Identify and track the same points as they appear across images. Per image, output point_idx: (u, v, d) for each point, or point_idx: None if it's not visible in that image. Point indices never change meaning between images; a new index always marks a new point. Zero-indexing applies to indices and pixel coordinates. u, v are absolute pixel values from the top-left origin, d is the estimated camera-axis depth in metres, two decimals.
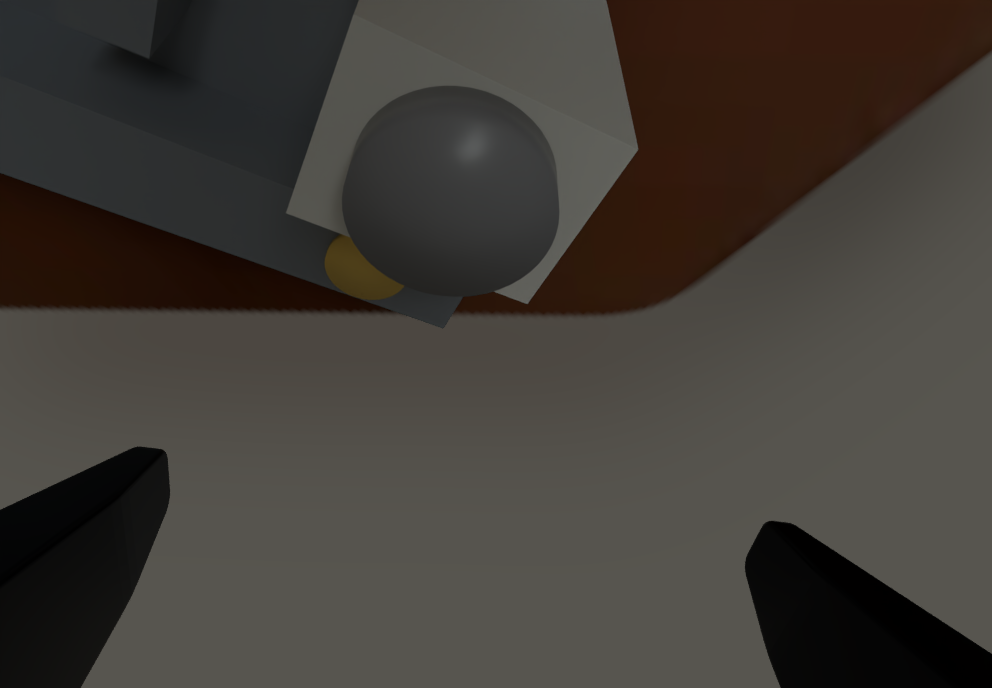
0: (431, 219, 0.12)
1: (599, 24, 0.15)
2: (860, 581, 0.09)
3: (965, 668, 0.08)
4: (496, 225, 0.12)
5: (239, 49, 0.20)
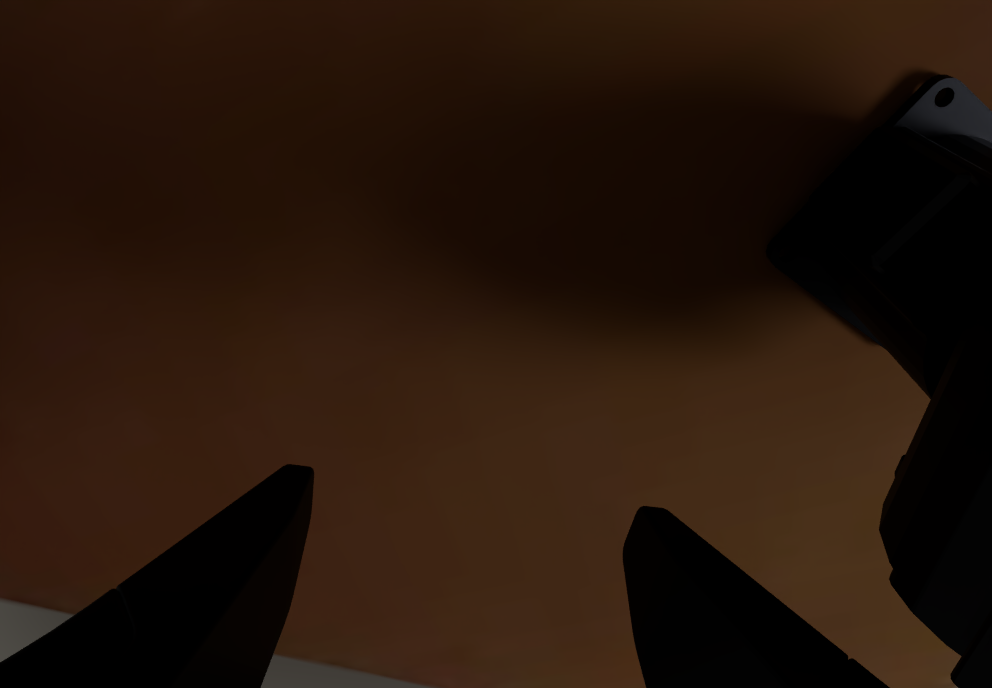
0: None
1: None
2: (713, 565, 0.09)
3: (789, 651, 0.08)
4: None
5: None
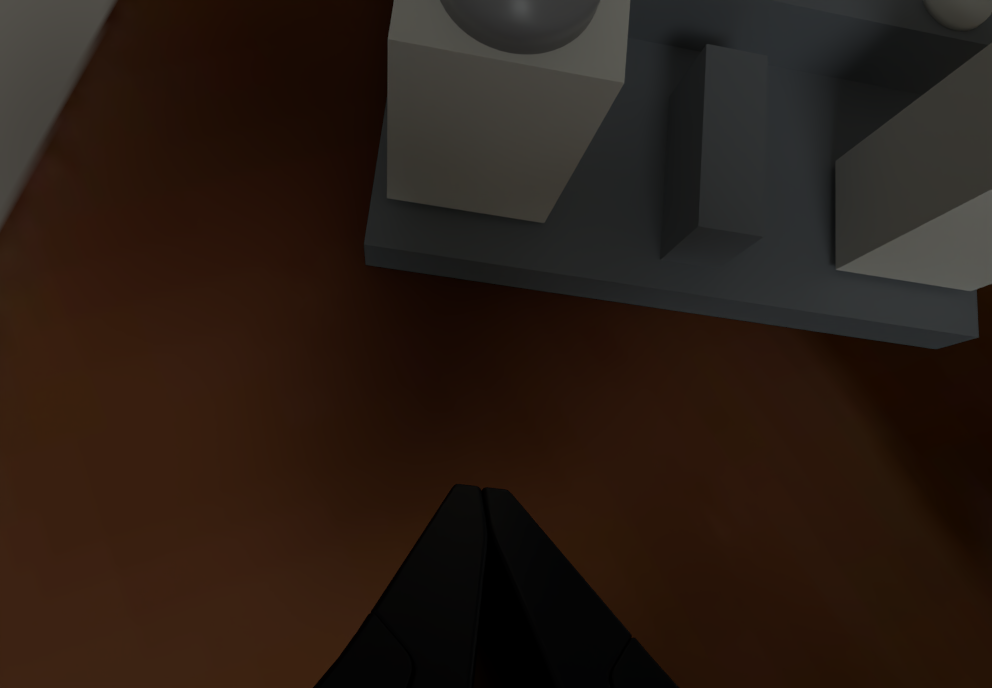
0: None
1: (399, 149, 0.19)
2: (529, 545, 0.09)
3: (567, 630, 0.07)
4: None
5: (631, 74, 0.25)
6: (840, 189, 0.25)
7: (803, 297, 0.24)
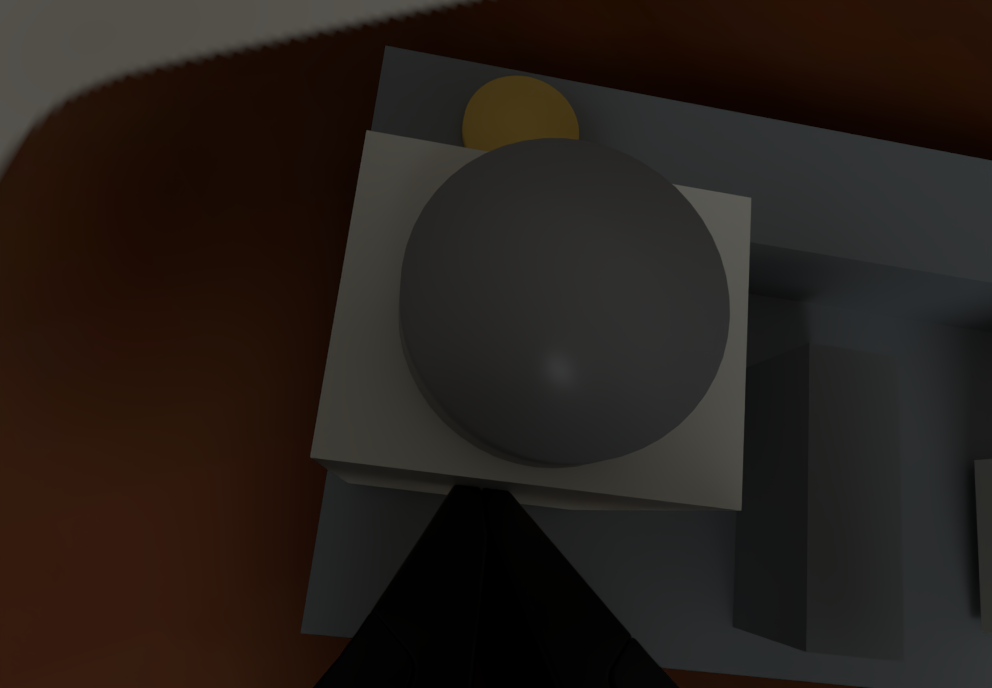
0: (595, 278, 0.08)
1: (357, 478, 0.12)
2: (529, 545, 0.09)
3: (567, 630, 0.07)
4: (499, 298, 0.08)
5: None
6: (985, 509, 0.17)
7: (936, 672, 0.17)
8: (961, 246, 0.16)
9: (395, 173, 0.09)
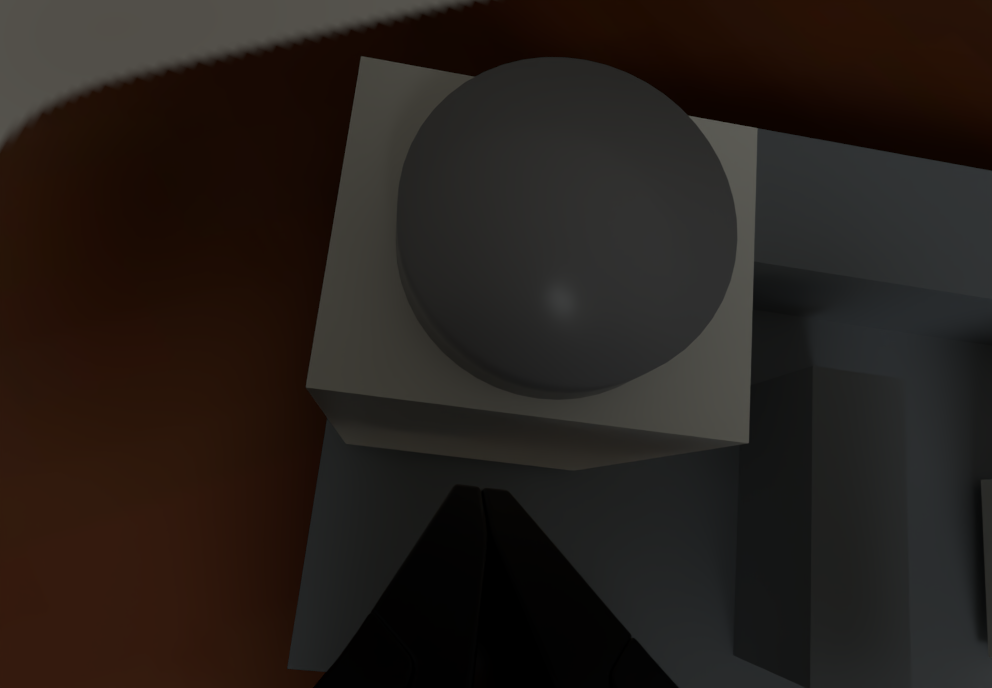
0: (599, 200, 0.08)
1: (355, 430, 0.12)
2: (529, 545, 0.09)
3: (567, 630, 0.07)
4: (499, 218, 0.07)
5: None
6: None
7: None
8: (969, 262, 0.16)
9: (391, 100, 0.09)
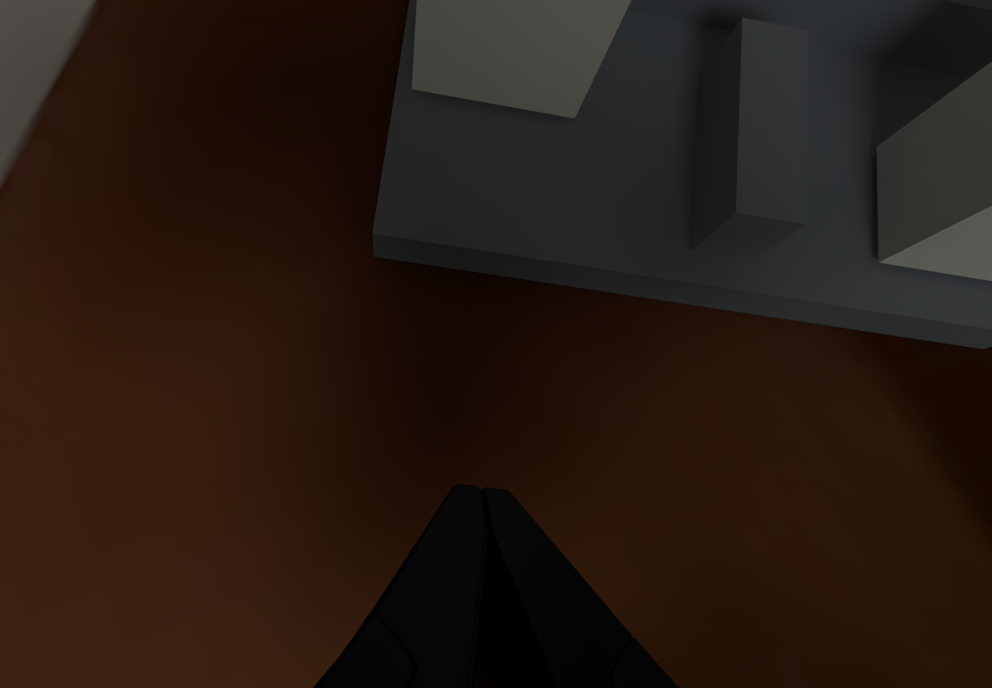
0: None
1: (429, 18, 0.18)
2: (529, 545, 0.09)
3: (567, 630, 0.07)
4: None
5: (657, 54, 0.23)
6: (882, 176, 0.23)
7: (844, 292, 0.23)
8: None
9: None
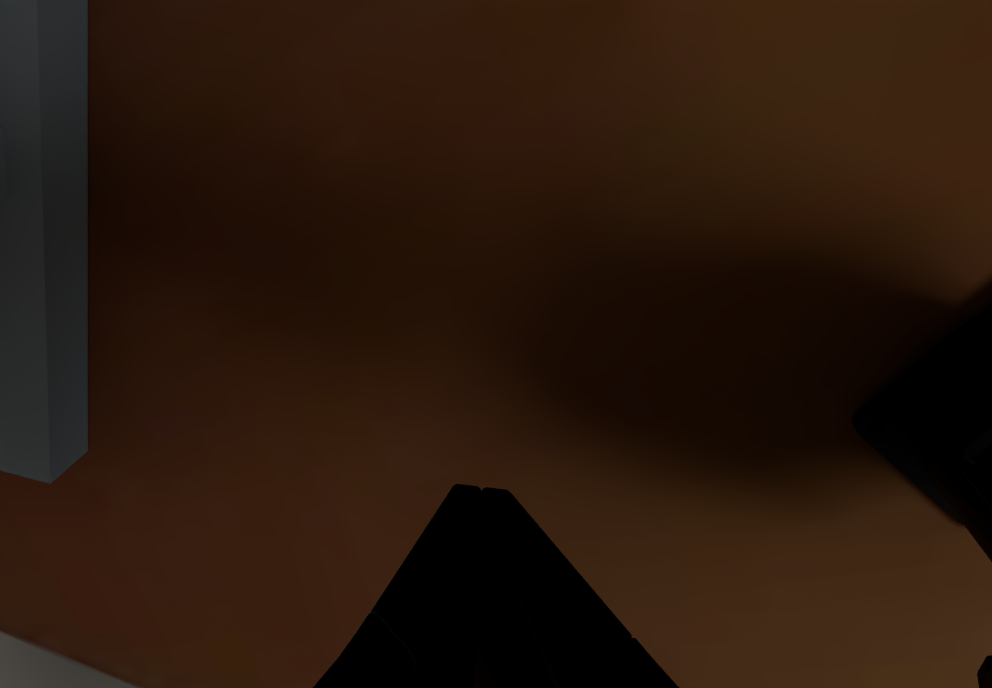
0: None
1: None
2: (529, 545, 0.09)
3: (566, 630, 0.07)
4: None
5: None
6: None
7: (18, 7, 0.18)
8: None
9: None
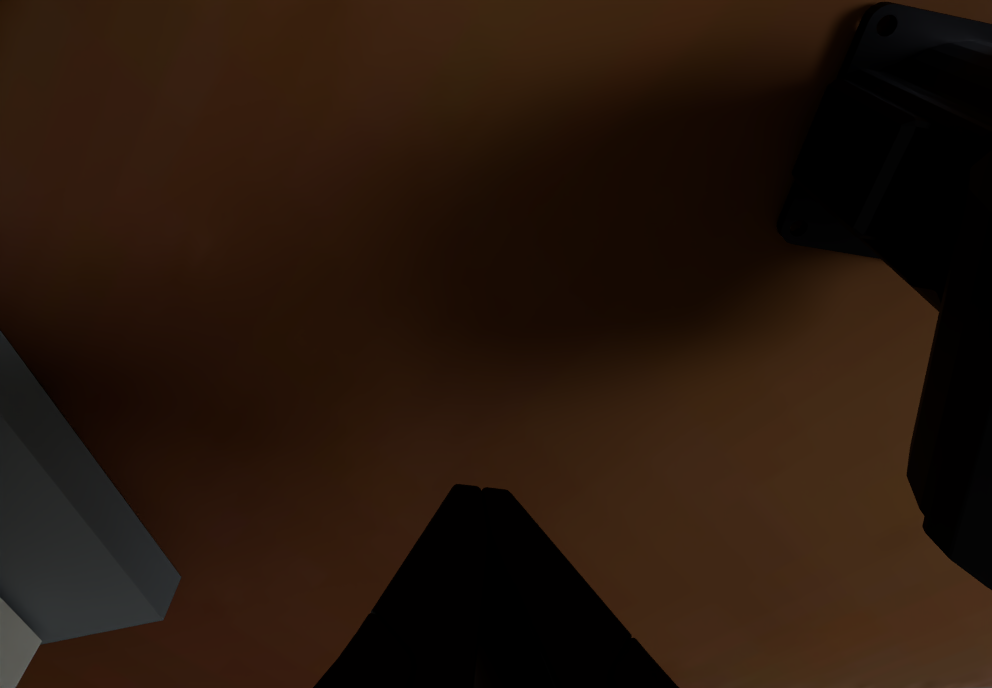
0: None
1: None
2: (529, 545, 0.09)
3: (567, 630, 0.07)
4: None
5: None
6: None
7: None
8: None
9: None
